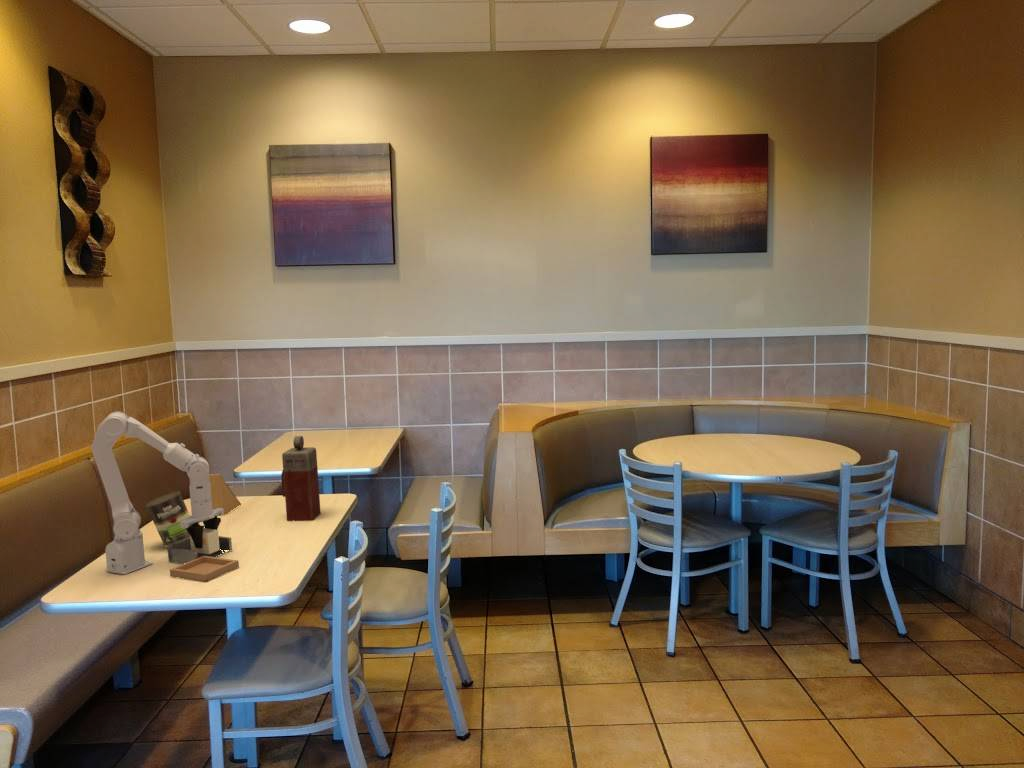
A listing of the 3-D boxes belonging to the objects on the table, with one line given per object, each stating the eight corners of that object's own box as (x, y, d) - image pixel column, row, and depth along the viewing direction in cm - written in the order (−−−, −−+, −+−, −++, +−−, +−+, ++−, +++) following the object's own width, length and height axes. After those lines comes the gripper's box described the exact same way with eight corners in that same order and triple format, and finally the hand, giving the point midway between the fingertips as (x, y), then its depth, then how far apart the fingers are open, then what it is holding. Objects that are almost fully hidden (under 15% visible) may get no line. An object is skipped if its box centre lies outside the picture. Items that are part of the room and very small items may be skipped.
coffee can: (200, 535, 244) (181, 493, 241) (166, 550, 239) (146, 508, 236) (195, 528, 253) (177, 488, 250) (162, 543, 248) (144, 502, 245)
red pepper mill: (289, 513, 276) (283, 434, 273) (320, 513, 275) (315, 433, 272) (279, 521, 267) (273, 439, 264) (312, 520, 267) (306, 438, 263)
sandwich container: (242, 504, 293) (239, 464, 291) (224, 516, 277) (220, 474, 276) (220, 505, 293) (217, 465, 292) (200, 516, 278) (196, 474, 276)
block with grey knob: (209, 554, 229) (207, 531, 228) (191, 551, 232) (189, 529, 231) (219, 549, 233) (217, 527, 232) (202, 547, 236) (200, 525, 235)
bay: (195, 565, 225) (194, 548, 224) (168, 561, 229) (167, 544, 229) (232, 550, 237) (230, 534, 237) (206, 547, 242) (204, 531, 241)
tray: (205, 582, 211) (205, 574, 211) (170, 576, 216) (169, 569, 216) (238, 567, 222) (238, 560, 222) (204, 562, 227) (203, 555, 227)
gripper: (191, 507, 222) (195, 554, 224) (230, 494, 235) (233, 539, 237) (173, 505, 225) (177, 552, 227) (212, 493, 238) (215, 537, 240)
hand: (205, 545), depth 232 cm, fingers closed on block with grey knob, 4 cm apart
